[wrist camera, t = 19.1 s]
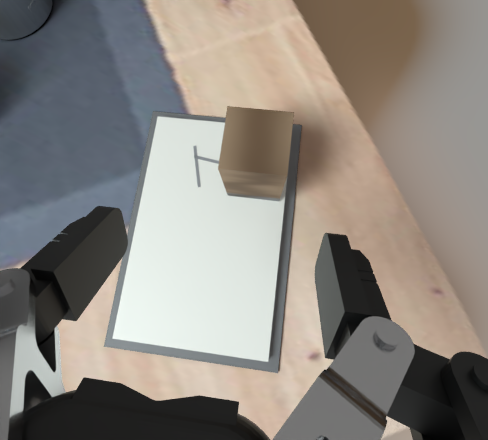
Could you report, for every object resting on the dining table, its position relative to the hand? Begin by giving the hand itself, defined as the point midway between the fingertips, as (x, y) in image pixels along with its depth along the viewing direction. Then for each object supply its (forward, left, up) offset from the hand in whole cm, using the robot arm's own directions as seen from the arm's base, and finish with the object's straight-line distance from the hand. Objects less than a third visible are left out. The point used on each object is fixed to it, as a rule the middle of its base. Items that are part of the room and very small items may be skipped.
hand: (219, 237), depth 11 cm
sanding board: (-3, +3, -16) cm, 16 cm away
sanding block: (+1, +8, -15) cm, 17 cm away
